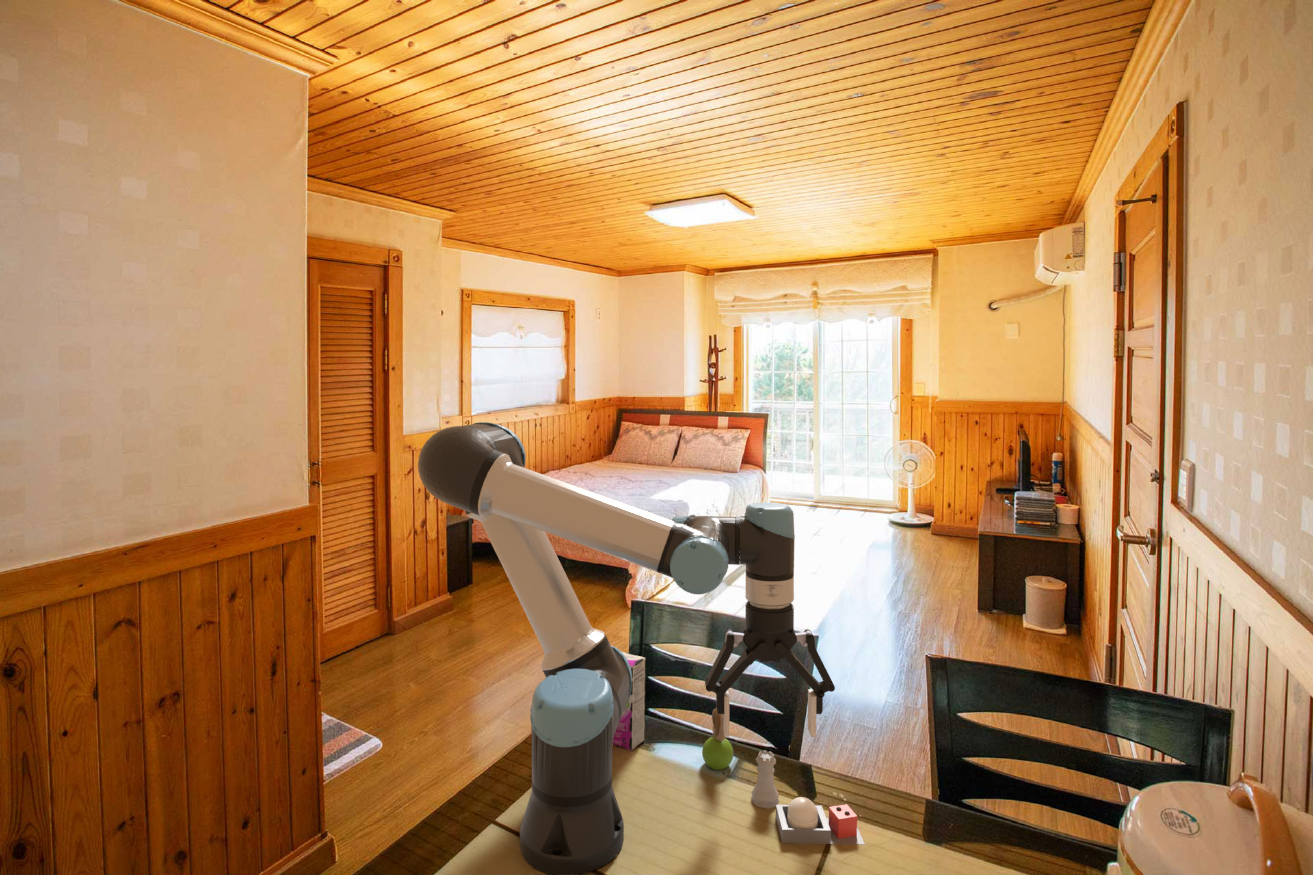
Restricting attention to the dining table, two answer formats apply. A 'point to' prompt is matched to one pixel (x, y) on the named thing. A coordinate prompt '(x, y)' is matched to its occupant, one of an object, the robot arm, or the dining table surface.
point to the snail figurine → (717, 746)
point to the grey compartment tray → (822, 827)
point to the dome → (802, 814)
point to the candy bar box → (633, 708)
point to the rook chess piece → (765, 782)
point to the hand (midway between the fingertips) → (768, 732)
